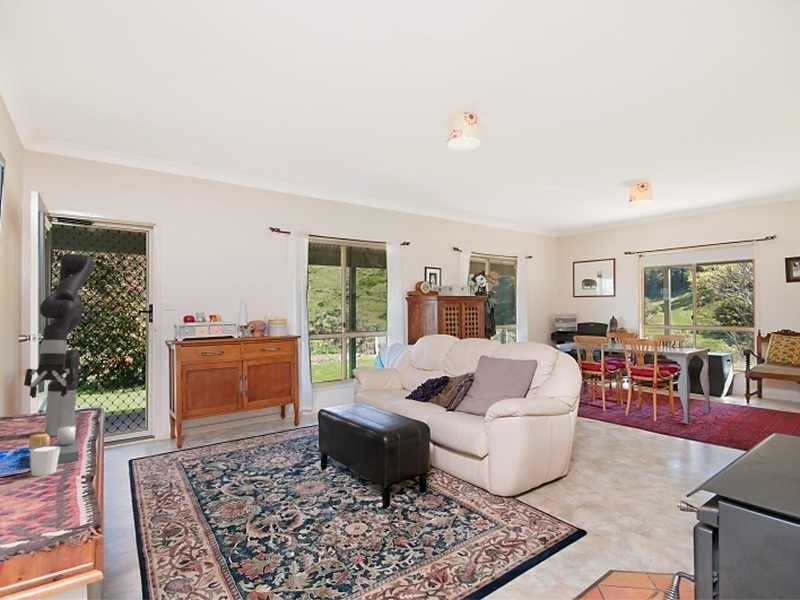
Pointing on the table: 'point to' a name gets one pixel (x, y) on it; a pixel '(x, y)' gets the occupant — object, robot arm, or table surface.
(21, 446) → the table surface
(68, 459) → the plate
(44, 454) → the white tapered cup
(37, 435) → the orange wire cap
